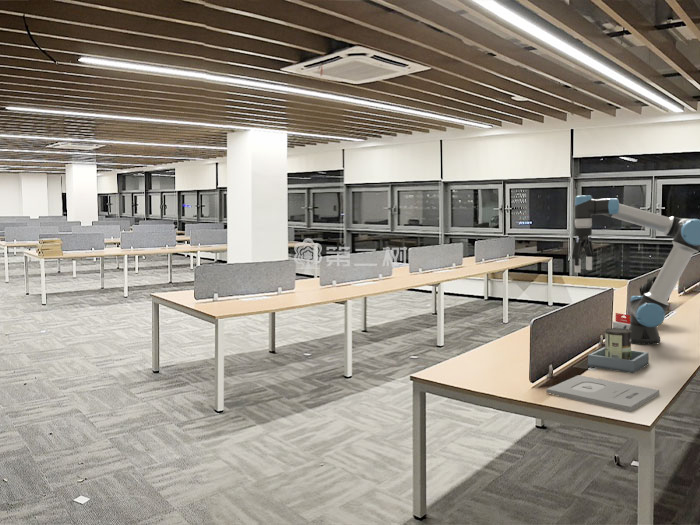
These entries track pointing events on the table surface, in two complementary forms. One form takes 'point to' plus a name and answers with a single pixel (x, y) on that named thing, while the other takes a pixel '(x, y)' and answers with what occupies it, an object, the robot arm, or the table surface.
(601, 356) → the tray
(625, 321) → the ink cartridge box
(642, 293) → the shoulder bag
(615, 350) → the coffee can
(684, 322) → the table surface
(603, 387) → the award plaque
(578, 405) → the table surface
